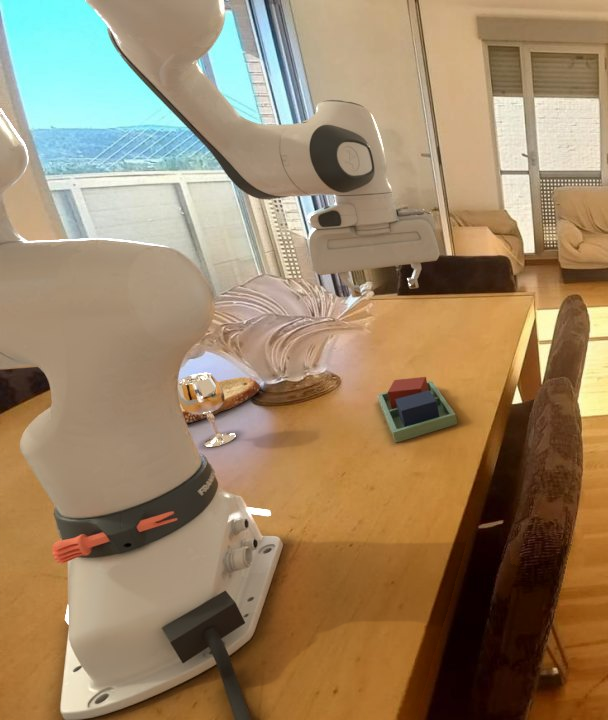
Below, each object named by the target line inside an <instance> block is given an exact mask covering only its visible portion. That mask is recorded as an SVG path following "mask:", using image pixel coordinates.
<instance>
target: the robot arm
mask: <svg viewBox="0 0 608 720" xmlns="http://www.w3.org/2000/svg"><path fill="white" fill-rule="evenodd" d="M84 1H85V3H86V4H88V6H89V7H90V8H92V10H93V11H94V12H95V13H96V14H97V15H98V17H99V18H100V19H101V21H102V22H103V23H104V24H105V26H106V27H107V29H106V30H107V34H108V37H109V39H110V41H111V43H112V45H113V47H114V48H115V50H116V51H117V53H118V54H119V56H120V57H121V58H122V60H123V62H125V63H126V64H127V66H128V67H129V68H130V69H131V70H132V72H133V73H135V75H136V76H137V77H138V78H139V79H140V80H141V81H142V82H143V83H144V84H145V86H147V88H148V89H149V90H150V91H151V92H152V93H153V94H154V95H155V96H156V97H157V98H158V99H159V100H160V101H161V102H162V103H163V104H164V105H165V106H166V107H167V108H168V109H169V110H170V112H172V113H173V114H174V115H175V117H176V118H177V119H179V120H180V121H181V122H182V123H183V124H184V126H186V128H187V129H188V130H189V131H190V132H191V133H192V134H193V135H194V136H195V137H196V138H197V139H198V140H199V141H200V142H201V143H202V144H203V145H204V147H206V148H207V150H208V151H209V152H210V153H211V154H212V156H213V157H214V158H215V160H216V162H217V163H218V164H219V166H220V168H222V170H223V172H224V173H225V175H226V176H227V177H228V178H229V180H230V181H231V182H232V183H233V184H234V185H236V187H237V188H239V189H240V190H241V191H242V192H243V193H245V194H247V195H249V196H250V197H252V198H255V199H259V200H273V199H274V200H275V199H283V198H288V197H317V196H333V199H334V203H332V204H330V205H325V206H323V207H322V208H319V209H317V210H314V211H311V212H310V213H309V214H308V215H307V221H308V224H309V226H310V227H311V229H310V230H309V232H308V236H307V243H308V244H307V245H308V246H307V247H308V253H309V260H310V264H311V265H310V266H311V268H312V271H313V272H314V273H315V274H317V275H318V276H327V275H333V274H338V276H339V279H340V281H342V282H343V284H345V286H346V287H348V288H349V290H350V294H351V297H352V298H359V297H362V292H361V287H360V284H353V283H352V282H351V281H350V280H349V279H350V274H349V272H356V271H365V270H373V269H381V268H389V267H396V266H403V265H405V266H406V265H410V266H411V268H412V269H413V272H412V274H411V276H410V277H406V281H407V286H408V288H409V289H410V290H412V289H418V288H419V287H420V286H419V283H418V282H419V281H418V279H419V277H420V274H421V271H422V269H423V268H422V264H421V263H428V262H435V261H437V260H438V259H439V257H440V255H441V253H440V248H439V244H438V241H437V238H436V234H435V230H436V223H435V217H434V215H433V213H431V212H430V211H429V210H426V209H424V208H423V207H416V208H410V209H409V208H403V209H397V207H396V202H395V201H396V200H395V197H394V192H393V189H392V186H391V184H390V182H389V179H388V176H387V167H388V164H387V158H386V153H385V149H384V146H383V141H382V138H381V134H380V131H379V128H378V126H377V123H376V121H375V118H374V116H373V114H372V112H371V111H370V110H369V109H368V108H367V107H365V106H363V105H361V104H359V103H356V102H353V101H347V100H346V101H345V100H340V99H339V100H338V99H329V100H327V99H326V100H322V101H320V102H318V103H317V104H316V110H315V111H316V112H315V113H314V114H313V115H312V116H311V117H309V118H308V119H306V120H303V121H301V122H300V123H298V122H296V123H289V124H262V123H257V122H254V121H251V120H248V119H247V118H245V117H243V116H241V114H239V113H238V112H237V110H236V109H235V108H234V106H233V105H232V104H231V102H229V100H228V99H227V98H226V97H225V96H224V94H223V93H221V91H220V90H219V88H218V87H217V86H216V85H215V83H213V81H212V80H211V79H210V78H209V76H208V75H207V74H206V72H204V71H203V69H202V67H201V66H200V64H199V61H200V59H202V58H204V57H205V55H207V54H208V53H209V51H210V50H211V49H212V48H213V46H215V44H216V42H217V40H218V39H219V37H220V36H221V33H222V31H223V28H224V25H225V22H226V21H225V20H226V5H225V0H84ZM28 164H29V152H28V149H27V146H26V144H25V142H24V140H23V139H22V138H21V136H20V135H19V132H17V130H16V129H15V128H14V126H13V124H12V123H11V121H10V120H9V119H8V117H7V116H6V115H5V113H4V111H3V110H2V108H1V107H0V370H14V369H27V368H39V370H41V372H42V373H44V375H45V377H46V379H47V382H48V384H49V389H50V397H51V405H50V406H49V407H48V408H46V409H45V410H44V411H42V412H41V413H39V414H38V415H37V416H36V417H35V418H33V420H32V421H31V422H30V423H29V424H28V425H27V427H26V428H25V430H24V431H23V433H22V434H21V437H20V441H19V448H20V452H21V455H22V457H23V458H24V459H25V461H26V463H27V464H28V465H29V467H30V469H31V471H32V472H33V474H34V475H35V477H36V478H37V480H38V482H39V484H40V485H41V487H42V488H43V490H44V492H45V493H46V495H47V496H48V498H49V499H50V501H51V502H52V504H53V505H54V509H53V517H54V520H55V528H56V530H57V534H58V537H59V538H60V539H61V540H58V541H55V542H54V543H53V545H52V548H51V551H52V557H54V558H53V559H54V560H55V561H56V563H57V564H65V563H67V606H66V613H65V617H64V621H65V622H66V623H67V625H68V629H67V630H68V631H67V639H66V648H65V658H64V666H63V667H64V668H63V677H62V686H61V695H60V706H59V712H60V714H61V716H62V719H64V720H87V719H92V718H96V717H100V716H104V715H107V714H110V713H113V712H116V711H120V710H123V709H125V708H128V707H130V706H134V705H136V704H138V703H141V702H143V701H146V700H148V699H150V698H153V697H154V696H157V695H161V694H162V693H164V692H166V691H168V690H170V689H173V688H175V687H178V686H179V685H181V684H183V683H185V682H187V681H190V680H191V679H193V678H194V677H197V676H199V675H200V674H202V673H204V672H206V671H207V670H209V669H211V668H213V667H214V666H217V670H218V672H219V675H220V678H221V681H222V684H223V688H224V691H225V693H226V697H227V699H228V703H229V705H230V709H231V712H232V715H233V718H234V720H252V719H251V715H250V712H249V709H248V706H247V704H246V701H245V698H244V695H243V692H242V689H241V686H240V683H239V680H238V678H237V675H236V672H235V669H234V666H233V663H232V660H231V657H230V656H231V655H232V654H235V653H236V652H237V651H238V650H239V649H240V648H242V647H243V646H244V645H245V644H247V643H248V642H250V640H251V639H252V637H253V636H254V634H255V632H256V630H257V629H256V628H257V626H258V623H259V620H260V617H261V614H262V611H263V607H264V606H265V605H264V604H265V602H266V599H267V595H268V593H269V590H270V587H271V585H272V584H271V583H272V581H273V577H274V575H275V572H276V569H277V566H278V562H279V560H280V557H281V554H282V550H283V548H284V542H283V541H282V539H281V538H280V537H279V536H275V535H263V534H262V533H261V530H260V529H259V526H258V524H257V523H256V521H255V519H254V517H253V515H258V516H264V517H269V516H271V515H272V513H271V510H270V509H265V508H264V509H263V508H257V507H256V508H255V507H249V506H247V504H246V502H245V500H244V498H243V497H242V496H241V495H238V494H235V493H232V492H229V491H227V490H225V489H223V488H221V487H219V481H218V479H217V477H216V474H215V473H216V472H215V470H214V469H215V468H214V467H213V465H212V464H211V463H210V462H209V460H208V458H207V457H206V456H205V455H204V454H202V453H201V452H199V450H198V448H197V445H196V443H195V441H194V439H193V436H192V434H191V431H190V429H189V426H188V424H187V423H186V421H185V418H184V415H183V412H182V410H181V407H180V402H179V397H178V381H179V376H180V371H181V368H182V364H183V363H184V360H185V359H186V356H187V355H188V353H189V352H190V351H191V349H192V348H193V347H194V346H195V345H196V344H198V343H199V342H200V341H201V340H202V339H203V338H204V337H205V335H206V334H207V332H208V331H209V329H210V328H211V325H212V323H213V320H214V317H215V311H216V299H215V293H214V290H213V287H212V285H211V282H210V281H209V278H208V277H207V276H206V273H204V271H203V270H202V269H201V268H200V267H199V265H197V264H196V262H195V261H193V260H192V259H191V258H190V257H189V256H187V255H186V254H185V253H183V252H181V251H180V250H179V249H176V248H173V247H170V246H167V245H161V244H154V243H148V242H142V241H140V242H139V241H132V240H124V239H115V238H106V237H105V238H104V237H98V238H97V237H95V238H75V239H54V240H53V239H52V240H29V241H28V240H26V239H25V238H24V237H23V236H21V234H19V232H18V231H17V230H16V228H15V227H14V225H13V222H12V221H11V219H10V215H9V213H8V211H7V208H6V204H5V192H6V191H7V190H9V189H10V188H12V186H13V185H15V184H16V183H17V182H19V180H20V179H21V177H22V176H23V175H24V174H25V172H26V170H27V167H28Z"/></svg>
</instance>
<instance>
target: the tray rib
mask: <svg viewBox="0 0 608 720" xmlns="http://www.w3.org/2000/svg"><path fill="white" fill-rule="evenodd" d="M435 400H436V401H437V405H440V403H439V398H438V397H436V398H435ZM390 414H391V416H392V418H394V417H397V416H399V412H398V408H395V409H391V410H390Z"/></svg>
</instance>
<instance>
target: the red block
mask: <svg viewBox="0 0 608 720" xmlns="http://www.w3.org/2000/svg"><path fill="white" fill-rule="evenodd" d="M427 382H428V381H427V377H426V376H421V377H420V376H419V377H410V378H401V379H400V378H399V379H394V380H393V382H392V383H391V386H389V389H388V390H387V392H388V396H389V400H390V404H391V408H392V409H395V408H397V404H396V399H398V398H402V397H406V396H409V395H413V394H417V393H421V392H424V391H428V385H427Z"/></svg>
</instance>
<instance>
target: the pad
mask: <svg viewBox="0 0 608 720" xmlns="http://www.w3.org/2000/svg"><path fill="white" fill-rule="evenodd" d="M396 404H397V408H398V412H399V416H400V419H401V421H402V423H403V425H404V427H407V426H410V425H414V424H417V423H421V422H424V421H427V420H431V419H434V418H438V417H440V416H439V411H438V406H437V401H436V400H435V398H434V397H433V395H432V394H431V392H430V391H429V390H428V391H424V392H421V393H417V394H413V395H409V396H406V397H402V398H398V399H396Z"/></svg>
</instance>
